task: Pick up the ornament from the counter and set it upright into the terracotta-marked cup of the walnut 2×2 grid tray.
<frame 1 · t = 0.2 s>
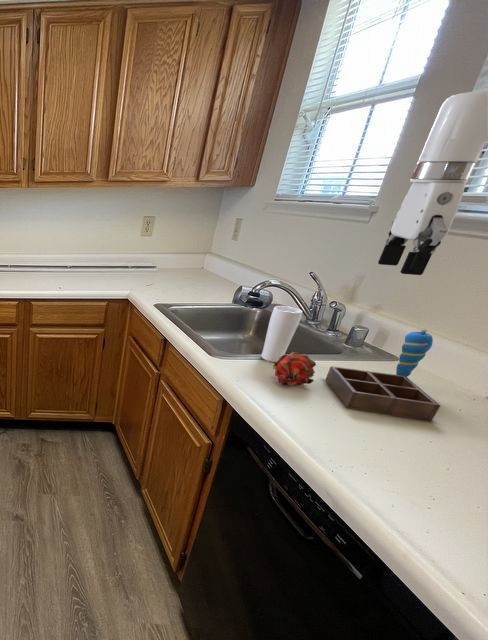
hand: (398, 269, 83), 31 cm above the countertop, tool pointing down, fingers open, 9 cm apart
drinking glass: (271, 359, 121), on the countertop
ornament: (397, 382, 108), on the countertop
grid: (373, 399, 100), on the countertop
dragon fruit: (288, 383, 107), on the countertop
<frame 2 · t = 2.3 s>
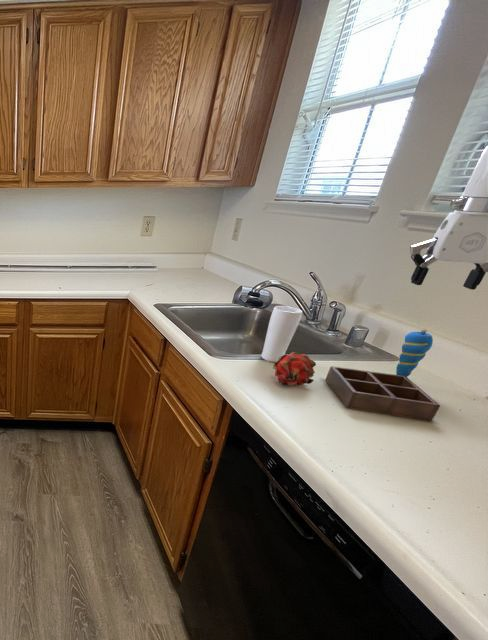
hand: (441, 286, 96), 25 cm above the countertop, tool pointing down, fingers open, 9 cm apart
nothing on the countertop moved.
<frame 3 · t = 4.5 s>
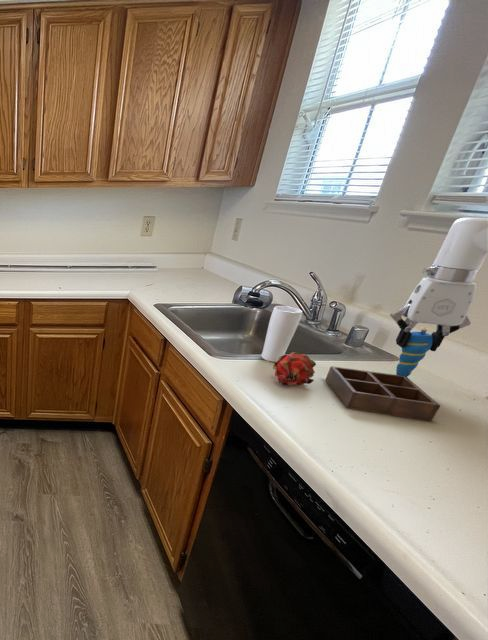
hand: (415, 346, 104), 10 cm above the countertop, tool pointing down, fingers closed on ornament, 5 cm apart
ornament: (397, 382, 108), on the countertop, touching gripper
everything else where it was.
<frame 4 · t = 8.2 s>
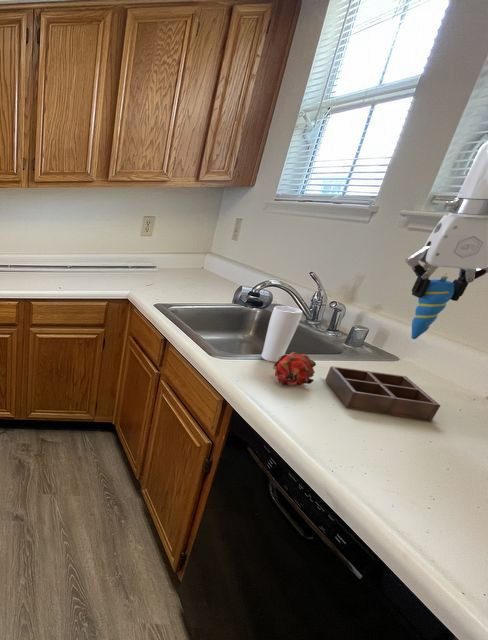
hand: (434, 296, 91), 24 cm above the countertop, tool pointing down, fingers closed on ornament, 5 cm apart
ornament: (412, 339, 96), point 14 cm above the countertop, touching gripper
everything else where it was.
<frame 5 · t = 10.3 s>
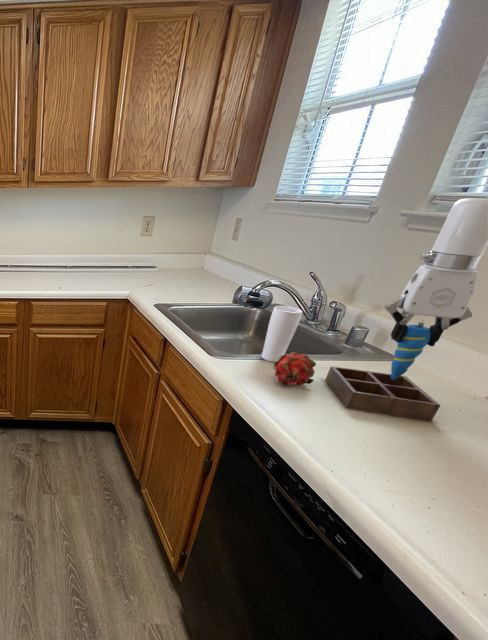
hand: (412, 341, 95), 14 cm above the countertop, tool pointing down, fingers closed on ornament, 5 cm apart
ornament: (392, 380, 100), point 4 cm above the countertop, touching gripper
everything else where it was.
when the fingers open (11 cm above the countertop, at t = 11.7 s): ornament stays where it is, resting on grid.
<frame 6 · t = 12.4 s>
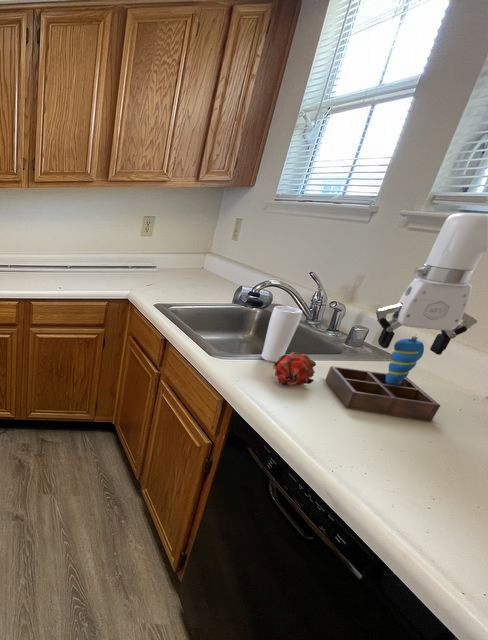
hand: (408, 349, 96), 12 cm above the countertop, tool pointing down, fingers open, 9 cm apart
ornament: (386, 392, 101), point 1 cm above the countertop, touching grid
everything else where it was.
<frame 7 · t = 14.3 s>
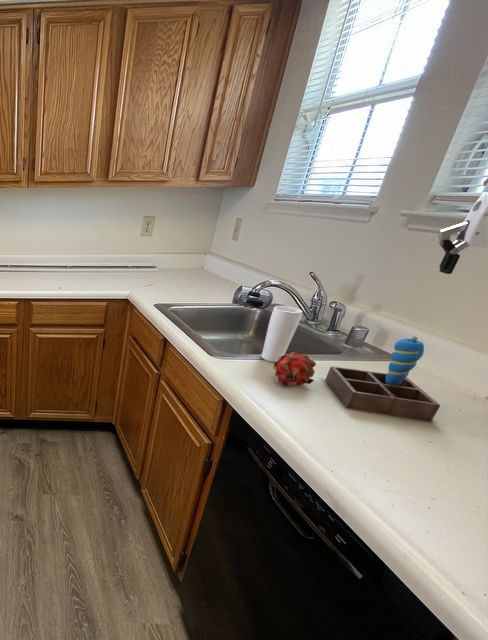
hand: (474, 274, 87), 30 cm above the countertop, tool pointing down, fingers open, 9 cm apart
nothing on the countertop moved.
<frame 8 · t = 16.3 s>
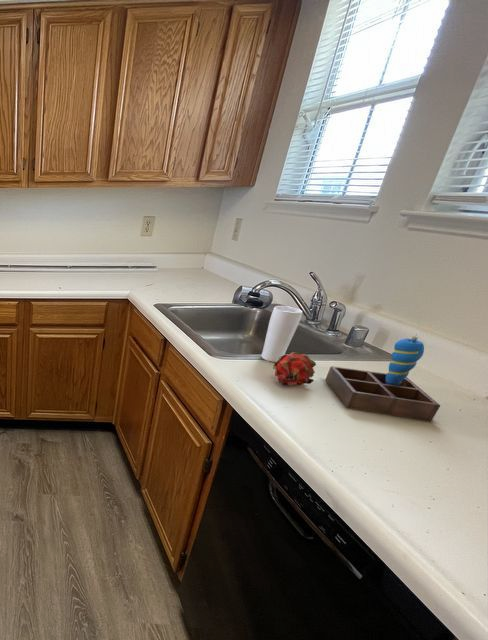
nothing on the countertop moved.
at the end: ornament 0.1 cm from the target spot in the grid, point 0.6 cm above the grid's base; ornament tilted 0°; the gripper is holding nothing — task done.
